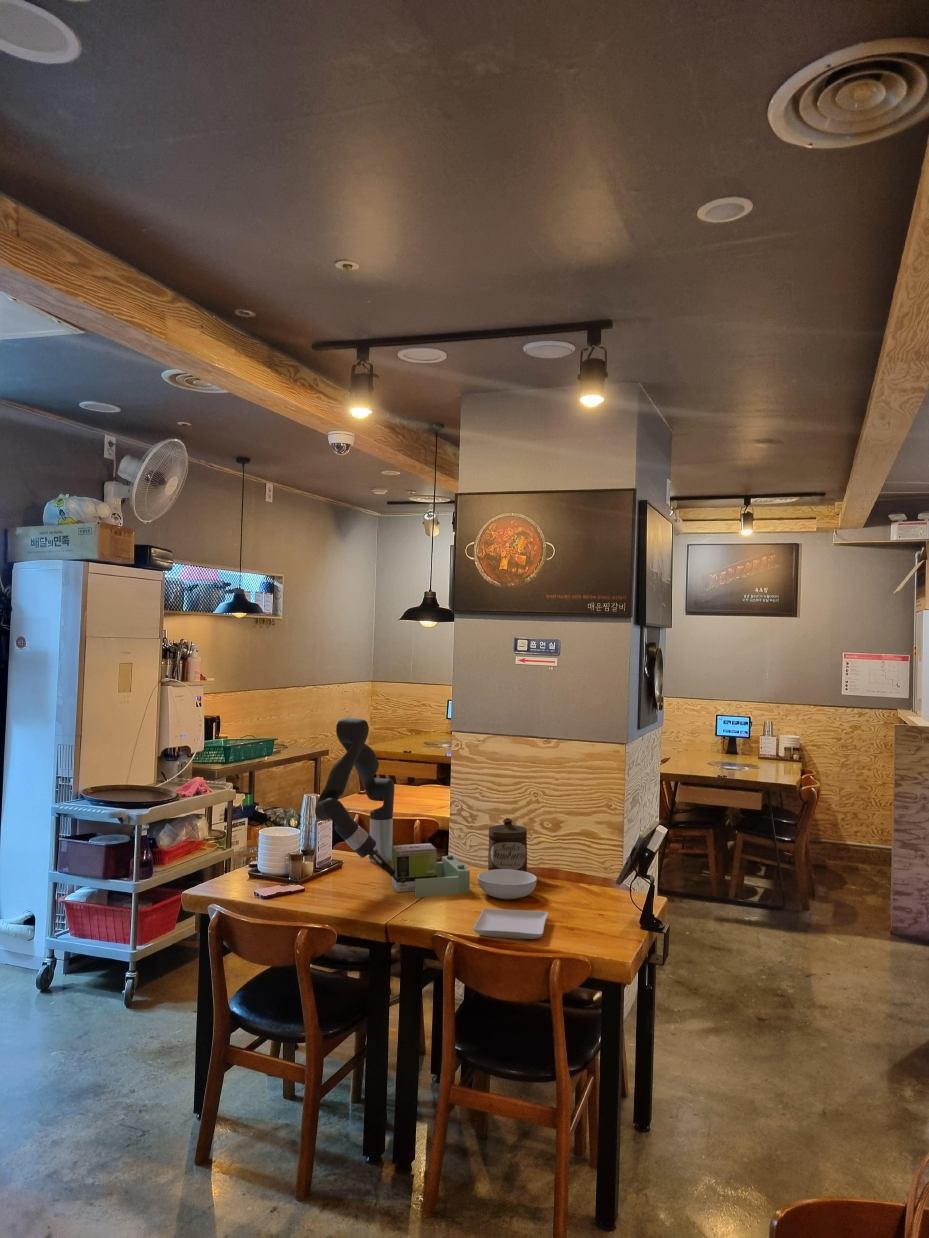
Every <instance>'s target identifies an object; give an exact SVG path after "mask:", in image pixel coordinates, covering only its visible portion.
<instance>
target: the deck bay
mask: <svg viewBox="0 0 929 1238" xmlns="http://www.w3.org/2000/svg"><path fill="white" fill-rule="evenodd" d="M470 871H471V870H470V869H468V868H467V867H466V866H465V865H464V864H462V863H461V862H460V861H459V860H458V859H456V858H455V857H454V855H453V854H451V855H450V854H448V855H444V856H441V861H437V878H423V879H415V891H414V897H415V898H428V897H429V898H430V897H439V896H441V897H443V896H452V895H453V896H454V895H465V894H470V878H471V876H470V873H471V872H470Z"/></svg>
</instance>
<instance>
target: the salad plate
mask: <svg viewBox="0 0 929 1238" xmlns="http://www.w3.org/2000/svg"><path fill="white" fill-rule="evenodd" d="M548 916H549V912H548V911H537V910H536V911H535V910H526V909H525V910H521V909H502V908H483V909H482V911H481V912H480V915H479V917H478V919H477V921H476V922H475V924H474V926H473V928H472V930H473V932H475V933H476V934H478V935H480V936H484V937H491V938H503V939H513V940H514V939H516V940H536V939H539V938H541V937H542V936H543V935H544V932H545V931H544V930H545V925H546V921H547V918H548Z"/></svg>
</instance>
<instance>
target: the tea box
mask: <svg viewBox="0 0 929 1238" xmlns="http://www.w3.org/2000/svg"><path fill="white" fill-rule="evenodd" d="M437 862H438V852H437V848H436V847H435V846H434V845H433V844H432V843H431V842H428V843H412V844H400V845H399V844H397V845H392V861H391V868H392V869H393V870H394V871H395V874H394V875H393V876H391V885H392V887H393V889H394V891H396V892H397V893H400V892H401V893H402V892H413V891H414V892H415V879H423V878H437Z"/></svg>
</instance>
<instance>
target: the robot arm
mask: <svg viewBox="0 0 929 1238" xmlns="http://www.w3.org/2000/svg"><path fill="white" fill-rule="evenodd" d="M335 729H336V730H335V731H336V737H337V740H338V742H339V743H340V745H342V747H343V748H344V750H345V751H346V753H345V754H344V755H343V756H342V757H341V758H340V759H338V760H337V762H336V763H335V764H333V766H332V768H331V769H330V772H329V774H328V778H327V780H326V783H325V786H324V788H323V790H322V792H321V793H320V796H319V797H318V799H317V802H316V804H315V806H314V814H315V816H316V819H318V820H319V821H322V822H325V821H329V820H331V821H332V822H333V824H334V830H335V832H336V834H338V835H339V836H340V837H341V838H342V839H343V840H344V841H345V843H346V844H347V845H348V847H350V848H351V849H352V850H353V851H354V852H355V853H356V854H357V855H358V856H359V857H360V858H366V857H367V856H368V859H369V862H371V863H374V864H375V865H376V866H377V867H379V868H381V869H382V870H383V871H385V872H386V873H387V874H388V875H389V876H390V877H392V876H393V875H394V874H395V871H394V870H393V869H392V866H390V864H389V863H390V862H392V846H393V828H394V827H393V826H394V825H393V821H394V820H393V817H394V803H395V802H394V800H395V782H394V780H393V778H387V777H386V778H384V777H383V778H382V777H374V776H375V775H376V773H377V772H378V771H379V765H380V763H379V759H378V758H377V755H376V752H375V751H374V750H373V749H372V748H371V747H370V746H369V745H367V744H366V742H367V739H368V737H369V736H368V735H369V731H370V729H369V723H368V722H367V720H365V719H361V718H352V717H344V718H343V717H342V718H341V719H339V720H338V721H337V723H336V726H335ZM353 767H354V768H355V770H356V772H357V774H358V776H359V777H360V780H361V782H362V785H363V788H364V791H365V794H366V796H367V798H368V800H370V801H374V802H383V803H382V806H380V807H377V808H374V809H372V810H370V812H369V833H368V832H367V831H366V829H364V828H363V827H361V826H360V824H358V823H357V822H356V821H355V820H354V819H353V818H352V817H351V816H350V814H349V812H348V810H347V809H346V808H345V806H344V805H343V803H342V802H341V801H340V800H339V798H340V797H341V796H343V794H344V793H345V790H346V788H347V785H348V781H349V778H350V776H351V773H352V770H353Z"/></svg>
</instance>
